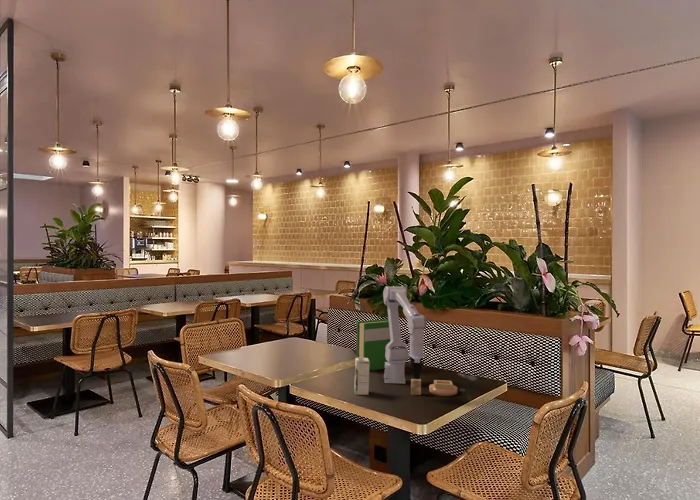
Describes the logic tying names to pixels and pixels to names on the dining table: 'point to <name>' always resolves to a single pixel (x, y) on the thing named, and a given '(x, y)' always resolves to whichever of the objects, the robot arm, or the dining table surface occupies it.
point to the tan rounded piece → (443, 388)
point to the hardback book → (373, 342)
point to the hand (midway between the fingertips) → (416, 376)
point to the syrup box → (361, 376)
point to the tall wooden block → (415, 386)
